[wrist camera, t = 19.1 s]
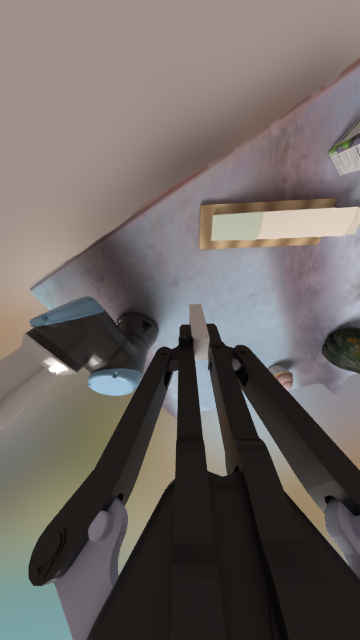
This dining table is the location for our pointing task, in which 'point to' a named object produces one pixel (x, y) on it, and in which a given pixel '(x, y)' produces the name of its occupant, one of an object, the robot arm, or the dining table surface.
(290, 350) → the dining table surface
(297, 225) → the domino
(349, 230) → the domino
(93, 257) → the dining table surface
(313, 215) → the domino
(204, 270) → the dining table surface
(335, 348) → the squash
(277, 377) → the cupcake
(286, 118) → the dining table surface
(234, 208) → the board
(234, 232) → the domino
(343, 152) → the syrup box
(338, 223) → the domino
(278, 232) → the domino
